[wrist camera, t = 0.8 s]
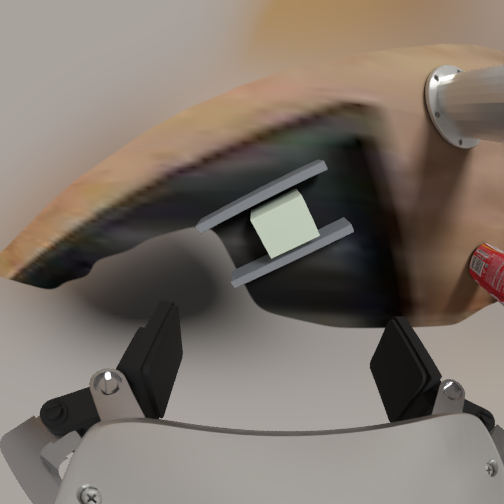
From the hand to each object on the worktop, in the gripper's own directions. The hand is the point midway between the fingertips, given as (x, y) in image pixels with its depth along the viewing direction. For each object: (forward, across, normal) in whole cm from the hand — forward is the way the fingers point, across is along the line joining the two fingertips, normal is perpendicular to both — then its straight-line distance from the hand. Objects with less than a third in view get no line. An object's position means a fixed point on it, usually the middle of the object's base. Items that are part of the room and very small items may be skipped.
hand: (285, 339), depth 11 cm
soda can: (+24, -38, +4) cm, 45 cm away
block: (+24, -2, +1) cm, 24 cm away
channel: (+23, -1, +2) cm, 23 cm away
